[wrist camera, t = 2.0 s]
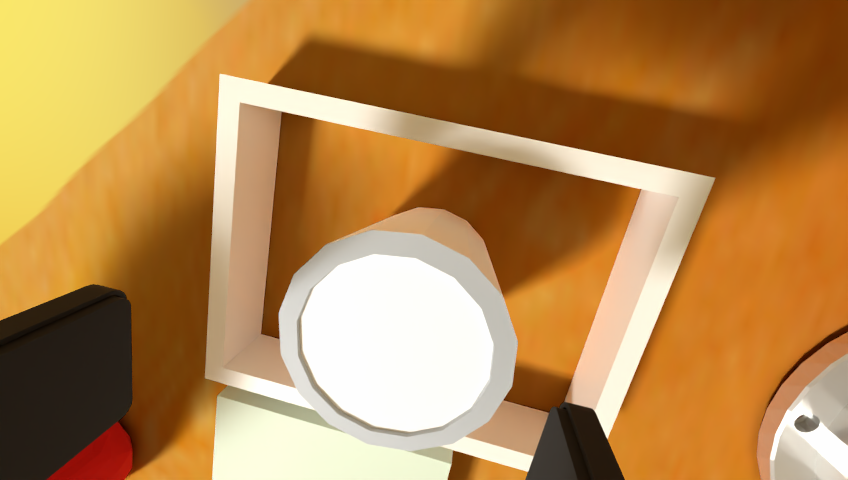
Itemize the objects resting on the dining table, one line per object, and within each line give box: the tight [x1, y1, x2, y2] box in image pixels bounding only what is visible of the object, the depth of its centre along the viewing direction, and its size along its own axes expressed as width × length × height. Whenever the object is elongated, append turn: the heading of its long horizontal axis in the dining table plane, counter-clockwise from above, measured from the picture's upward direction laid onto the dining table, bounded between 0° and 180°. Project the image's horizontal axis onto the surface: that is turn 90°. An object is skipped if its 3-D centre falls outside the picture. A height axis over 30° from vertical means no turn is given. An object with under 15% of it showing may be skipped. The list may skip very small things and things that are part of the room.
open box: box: [205, 74, 715, 472], centre depth 16 cm, size 17×13×3 cm
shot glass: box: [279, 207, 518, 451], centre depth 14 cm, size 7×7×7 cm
